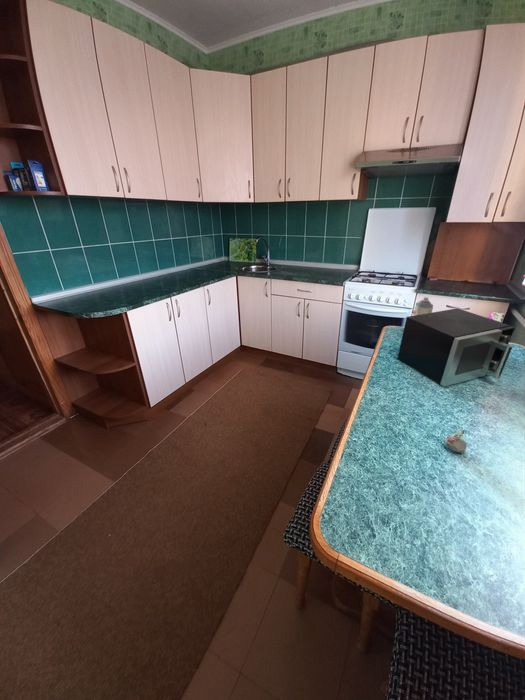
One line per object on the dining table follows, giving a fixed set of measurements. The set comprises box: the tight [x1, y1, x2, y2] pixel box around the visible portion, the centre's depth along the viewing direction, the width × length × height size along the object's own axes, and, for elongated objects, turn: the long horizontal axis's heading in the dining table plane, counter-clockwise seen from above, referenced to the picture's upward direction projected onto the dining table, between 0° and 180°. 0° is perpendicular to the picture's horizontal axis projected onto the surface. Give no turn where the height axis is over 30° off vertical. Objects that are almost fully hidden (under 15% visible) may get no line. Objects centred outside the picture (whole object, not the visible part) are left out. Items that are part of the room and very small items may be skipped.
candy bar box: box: [486, 311, 506, 323], centre depth 116 cm, size 11×5×16 cm, turn 137°
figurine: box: [444, 429, 468, 454], centre depth 73 cm, size 5×4×6 cm
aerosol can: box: [412, 296, 434, 316], centre depth 128 cm, size 7×7×20 cm
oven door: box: [439, 329, 514, 387], centre depth 96 cm, size 8×20×18 cm, turn 110°
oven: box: [397, 308, 516, 385], centre depth 107 cm, size 22×26×18 cm
